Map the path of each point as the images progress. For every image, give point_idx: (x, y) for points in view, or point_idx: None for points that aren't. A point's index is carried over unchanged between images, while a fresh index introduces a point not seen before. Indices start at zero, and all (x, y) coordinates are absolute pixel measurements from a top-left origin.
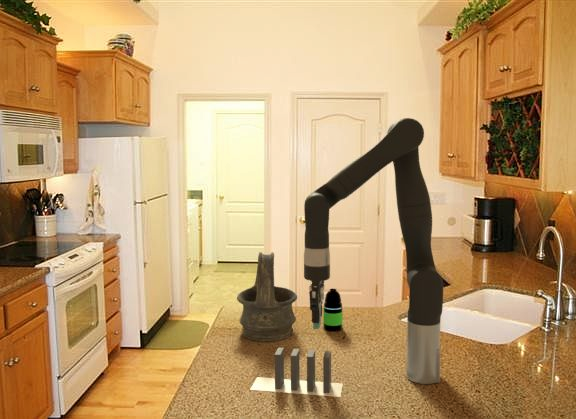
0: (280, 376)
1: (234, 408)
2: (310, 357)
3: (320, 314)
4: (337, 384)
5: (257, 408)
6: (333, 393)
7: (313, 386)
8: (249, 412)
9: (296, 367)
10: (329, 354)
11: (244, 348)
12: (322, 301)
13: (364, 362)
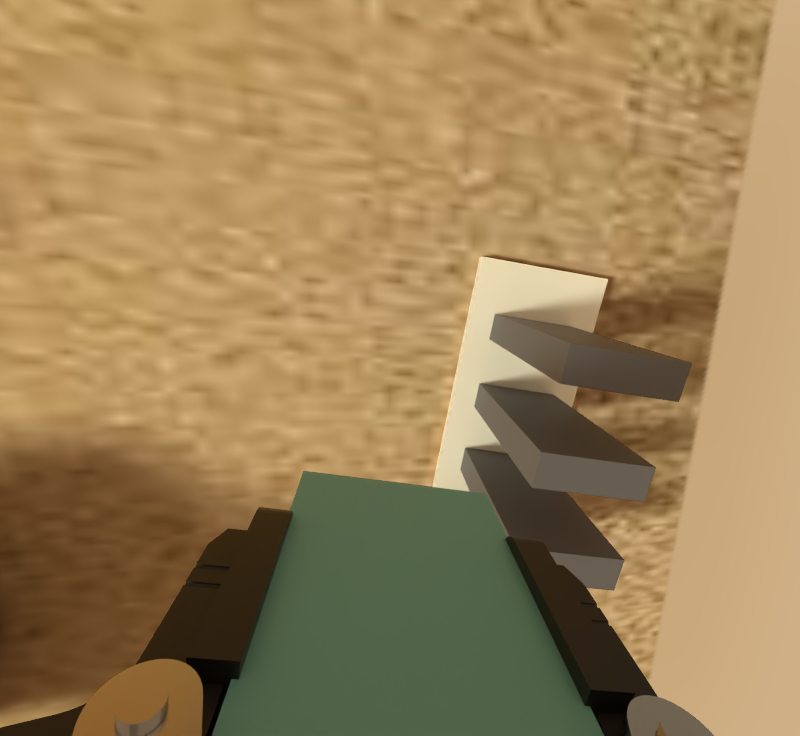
0: None
1: (622, 634)
2: (647, 478)
3: (326, 552)
4: (491, 283)
5: (632, 571)
6: (575, 307)
7: (539, 395)
8: (654, 590)
9: (585, 515)
10: (632, 358)
11: (100, 680)
12: (149, 729)
13: (194, 99)
